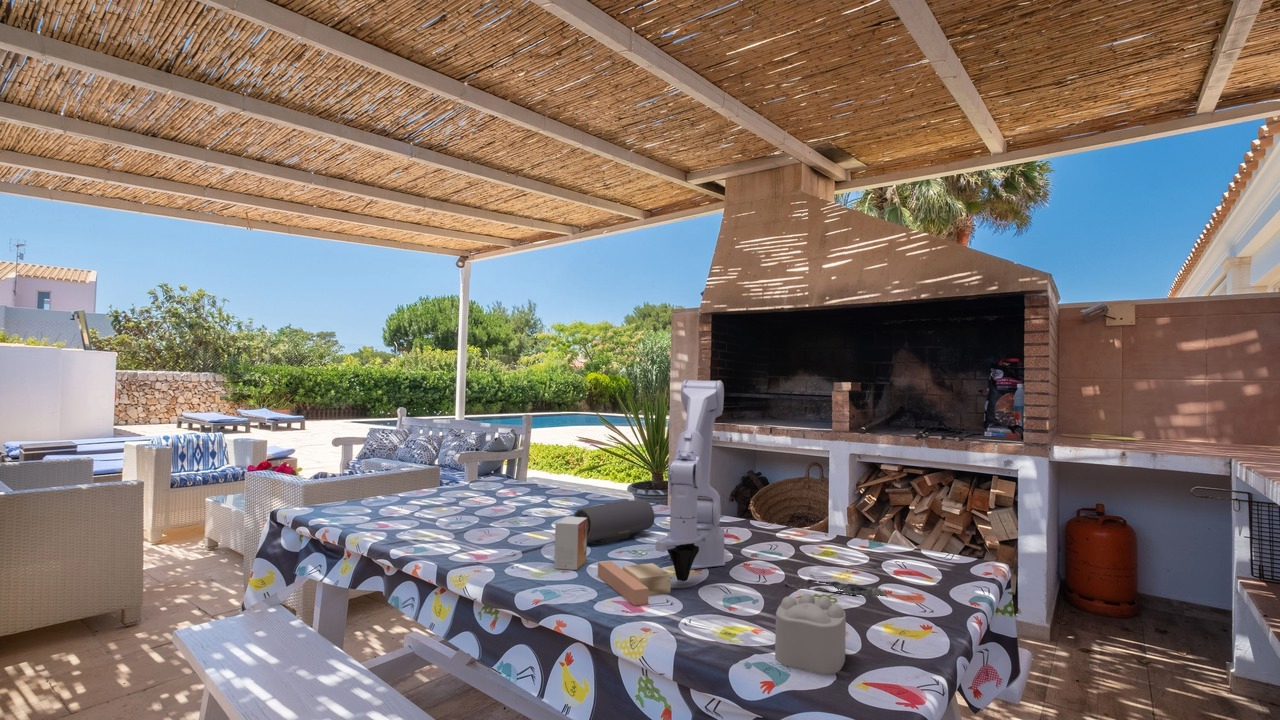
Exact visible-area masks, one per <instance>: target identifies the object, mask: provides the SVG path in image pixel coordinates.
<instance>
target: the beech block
mask: <svg viewBox="0 0 1280 720" xmlns="http://www.w3.org/2000/svg"><path fill="white" fill-rule="evenodd" d="M622 570H624V571H625V572H627V573H628V574H629V575H631V576H632V577H634V578H635V579H636V580H638V581H639V582H640V583H642V584H643V585H645V586H646V587H647V588H649V591H648V597H651V596H659V595H668V593H669V594H671V585H672V584H671V582H672V575H671V574H670V573H669V572H667V571H665V570H664V569H662V568H660V567H659V566H658V565H656V564H655V563H651V562H650V563H639V564H631V565H622Z"/></svg>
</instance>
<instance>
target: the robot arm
mask: <svg viewBox="0 0 1280 720" xmlns="http://www.w3.org/2000/svg"><path fill="white" fill-rule="evenodd" d="M724 398H725V387H724V382H723V381H722V380H721V379H720V380H699V379H698V380H694V379H693V380H692V379H690V380H689V379H684V380H682V383H681V388H680V400H681V403H682V405H683V409H684V410H685V413H686V418H685V426H684V427H685V428H684V431H682V432H680V434H679V435H678V437H677V442H676V448H675V454H674V457H673V458H674V459H673V460H672V461H670V462H669V465H668V469H667V482H668V492H669V493H668V494H669V495H670V510H669V511H670V515H669V516H670V517H669V518H670V520H669V521H670V522H669V523H670V524H669V533H667V536H665V537H663V538H662V539H659V540H656V541H655V551H658V552H661V553H664V552H667V553H668V555H669V556H670V559H671V561H672V564H673V568H674V572H675V576H676V580H677V581H680V582H687V581H688V580H689V576H690V573H691V570H694V569H695V570H696V569H703V568H712V567H714V568H715V567H723V566H726V562H725V534H724V530H723V528H722V527H721V526H720V525H719V524H720V521H721V517H722V516H721V512H722V507H721V506H722V505H721V496H720V493H719V491H717V490H716V489H715V488H714V487H712V486H711V470H712V468H711V467H712V455H713V454H712V452H713V451H712V450H713V438H714V435H713V433H714V425H715V421H716V418H719V417H720V416H722V415H723V411H724V400H725V399H724ZM708 498H709V499H708ZM710 498H711V499H710Z"/></svg>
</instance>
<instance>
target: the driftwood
mask: <svg viewBox="0 0 1280 720" xmlns="http://www.w3.org/2000/svg"><path fill="white" fill-rule="evenodd" d="M806 580H807V581H808V582H817V581H818V582H819V583H826V584H829V585H831V586H834V587H835V588H837V589H838V590H839V589H840V590H843V591H836V592H837V593H836V594H839V592H840V593H848V595H847V596H850V595H849V594H852V595H862V596H874V595H877V596H879V595H880V596H887V597H888V593H887V592H886V591H884V592H883V590H882V589H880V588H879V587H873V586H872V587H871V586H865V585H861V584H857V583H847V584H846V583H844V582H839V581H836V580H835V581H834V580H833V581H830V580H829V581H823V580H816V579H812V578H810V579H806ZM784 584H785V585H786V586H788V587H792V588H796V587H795V586H793V585H794V584H789V582H787V581H784ZM796 585H797V588H799V589H800V588H802V589H805V587H806V590H810V589H809V588H811V587H810V586H807V585H798V584H796ZM802 586H804V587H802ZM814 589H819V590H818V591H823V592H828V591H829V590H828V588H824V587H814ZM881 590H882V591H881ZM828 593H831V592H830V591H829V592H828ZM852 595H851V596H852Z"/></svg>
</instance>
